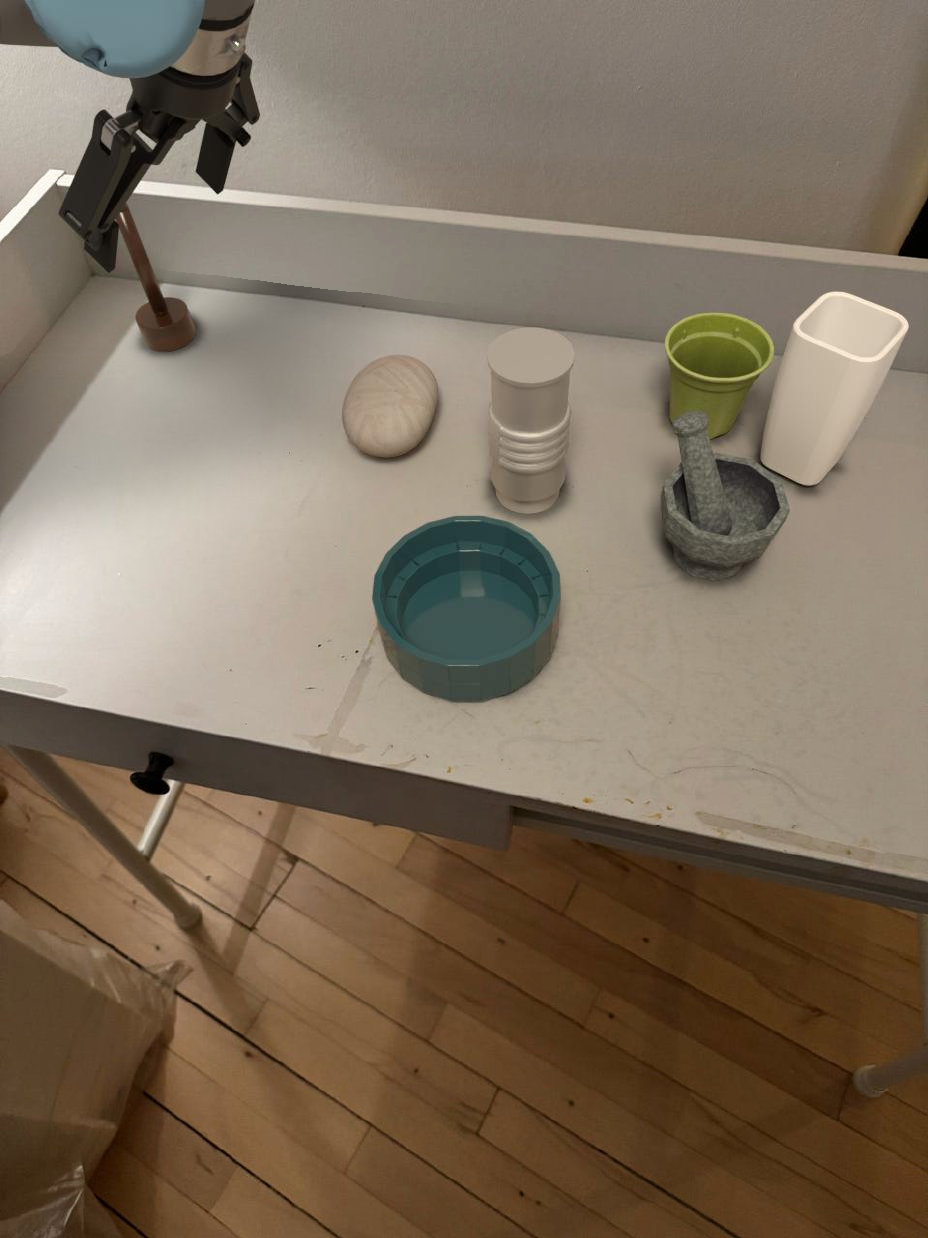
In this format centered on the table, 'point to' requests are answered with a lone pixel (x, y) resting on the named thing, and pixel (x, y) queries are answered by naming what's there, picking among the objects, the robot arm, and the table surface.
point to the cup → (828, 383)
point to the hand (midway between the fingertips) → (156, 218)
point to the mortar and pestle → (718, 505)
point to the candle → (529, 417)
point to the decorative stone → (390, 405)
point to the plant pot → (715, 366)
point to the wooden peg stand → (155, 297)
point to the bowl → (467, 607)
